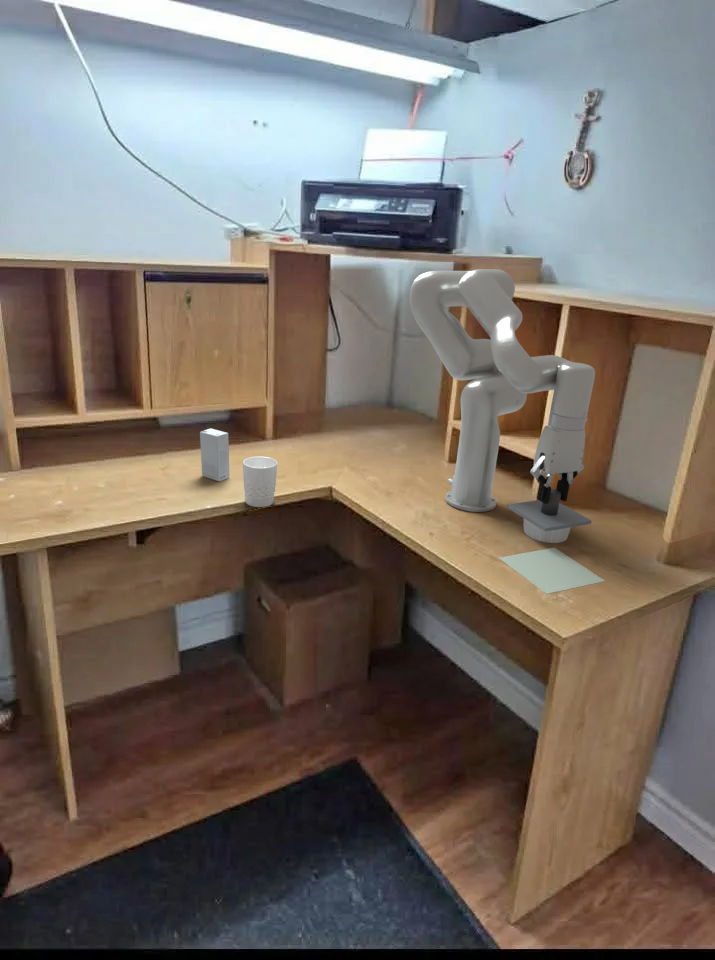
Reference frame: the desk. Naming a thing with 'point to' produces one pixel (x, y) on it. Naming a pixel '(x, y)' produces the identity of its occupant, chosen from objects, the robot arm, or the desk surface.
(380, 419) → the desk surface
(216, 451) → the skincare box
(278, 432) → the desk surface
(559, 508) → the lid
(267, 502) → the white cup
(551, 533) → the ramekin
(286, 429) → the desk surface
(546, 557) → the mat
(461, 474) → the robot arm
